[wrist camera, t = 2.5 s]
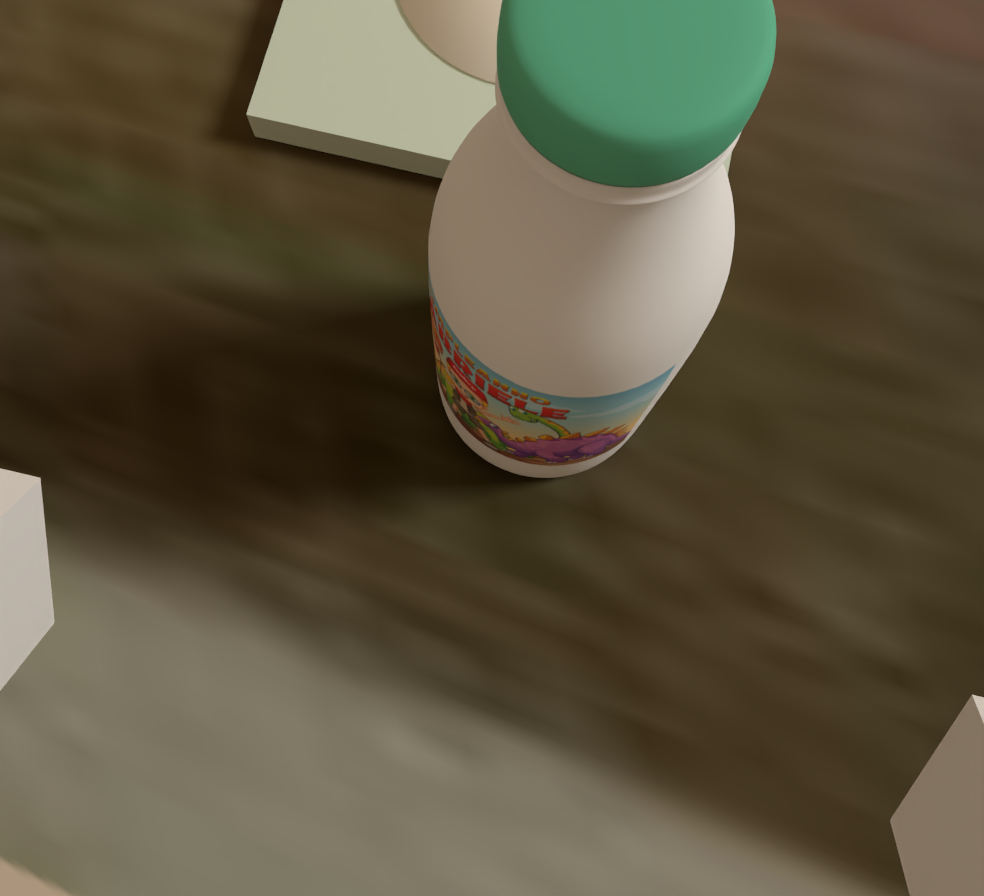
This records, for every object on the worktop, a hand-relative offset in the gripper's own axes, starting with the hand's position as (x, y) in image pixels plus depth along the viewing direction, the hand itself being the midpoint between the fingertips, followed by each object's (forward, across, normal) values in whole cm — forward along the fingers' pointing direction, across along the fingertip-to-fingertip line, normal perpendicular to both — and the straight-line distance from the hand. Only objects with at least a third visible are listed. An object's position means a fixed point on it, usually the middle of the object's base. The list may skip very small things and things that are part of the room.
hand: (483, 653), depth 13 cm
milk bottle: (+21, 0, -6) cm, 22 cm away
